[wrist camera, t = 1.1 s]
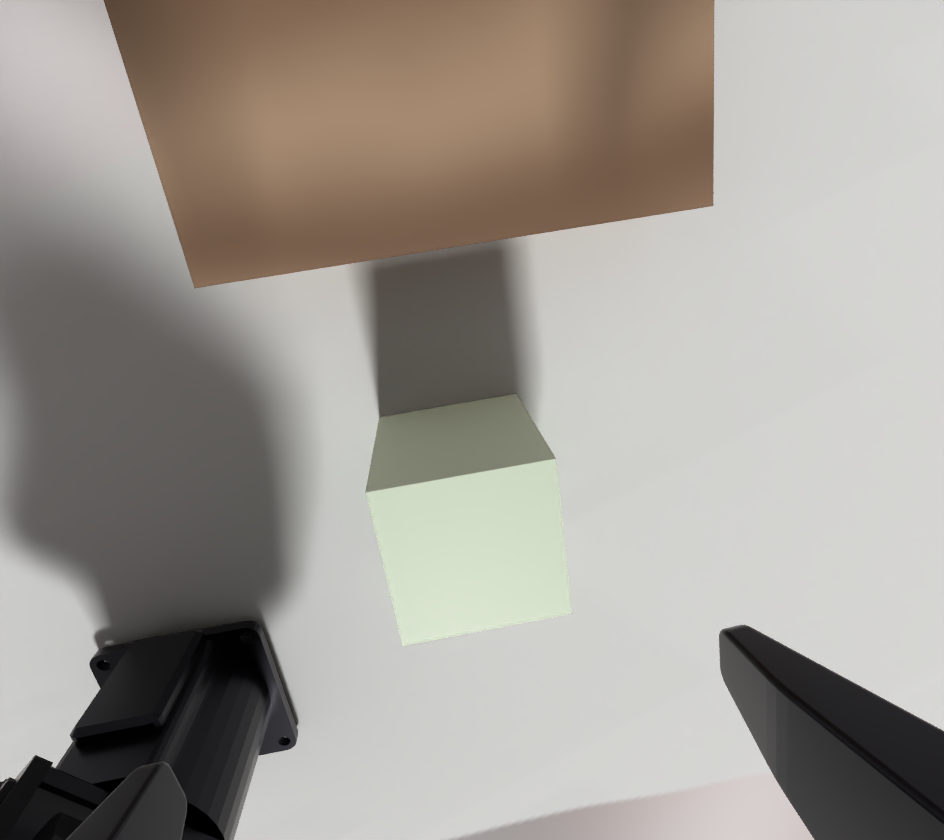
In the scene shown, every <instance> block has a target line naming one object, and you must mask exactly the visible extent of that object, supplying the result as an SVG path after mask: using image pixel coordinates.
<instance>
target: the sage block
mask: <svg viewBox="0 0 944 840" xmlns="http://www.w3.org/2000/svg"><path fill="white" fill-rule="evenodd" d="M365 493H366V497H367V501H368V505H369V509H370V514H371V518H372V522H373V526H374V530H375V534H376V538H377V543H378V547H379V551H380V555H381V559H382V563H383V567H384V572H385V576H386V580H387V584H388V588H389V592H390V597H391V601H392V605H393V609H394V613H395V617H396V621H397V626H398V630H399V634H400V638H401V642H402V646H406V645H411V644H416V643H422V642H427V641H432V640H437V639H442V638H448V637H453V636H458V635H463V634H469V633H474V632H479V631H484V630H490V629H495V628H500V627H505V626H510V625H516V624H521V623H526V622H531V621H537V620H542V619H547V618H552V617H557V616H563V615H568V614H572V607H571V598H570V588H569V578H568V569H567V559H566V550H565V540H564V530H563V521H562V511H561V501H560V492H559V482H558V473H557V463H556V458H555V456H554V454H553V453H552V451H551V450H550V448H549V446H548V445H547V443H546V441H545V440H544V438H543V437H542V435H541V433H540V432H539V430H538V428H537V427H536V425H535V424H534V422H533V420H532V419H531V417H530V415H529V414H528V412H527V411H526V409H525V407H524V406H523V404H522V402H521V401H520V399H519V398H518V396H517V394H511V395H506V396H500V397H494V398H488V399H482V400H477V401H471V402H465V403H459V404H454V405H448V406H442V407H436V408H430V409H425V410H419V411H413V412H407V413H401V414H396V415H390V416H384V417H379V422H378V428H377V433H376V438H375V444H374V449H373V455H372V460H371V465H370V471H369V476H368V482H367V487H366V492H365Z"/></svg>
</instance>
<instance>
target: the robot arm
mask: <svg viewBox="0 0 944 840" xmlns="http://www.w3.org/2000/svg"><path fill="white" fill-rule="evenodd" d="M244 633H250V634H252V635H253V636H246V635H245V634H244ZM719 648H720V668H721V674H722V677H723V680H724V682H725V684H726V686H727V688H728V690H729V692H730V694H731V696H732V698H733V700H734V701H735V703H736V705H737V707H738V709H739V711H740V713H741V715H742V717H743V719H744V720H745V722H746V724H747V726H748V728H749V730H750V732H751V734H752V736H753V738H754V739H755V741H756V743H757V745H758V747H759V749H760V751H761V753H762V755H763V757H764V758H765V760H766V762H767V764H768V766H769V768H770V770H771V771H772V773H773V775H774V777H775V778H776V780H777V782H778V784H779V785H780V787H781V788H782V790H783V792H784V793H785V795H786V796H787V798H788V800H789V801H790V803H791V804H792V806H793V807H794V809H795V810H796V812H797V813H798V815H799V816H800V818H801V819H802V821H803V823H804V824H805V826H806V827H807V829H808V830H809V832H810V833H811V835H812V836H813V838H814V839H815V840H944V731H943V730H941V729H939V728H937V727H935V726H933V725H932V724H930V723H928V722H926V721H924V720H922V719H920V718H919V717H917V716H915V715H913V714H911V713H909V712H907V711H905V710H904V709H902V708H900V707H898V706H896V705H894V704H892V703H891V702H889V701H887V700H885V699H883V698H881V697H879V696H878V695H876V694H874V693H872V692H870V691H868V690H866V689H865V688H863V687H861V686H859V685H857V684H855V683H853V682H852V681H850V680H848V679H846V678H844V677H842V676H840V675H839V674H837V673H835V672H833V671H831V670H829V669H827V668H826V667H824V666H822V665H820V664H818V663H816V662H814V661H813V660H811V659H809V658H807V657H805V656H803V655H801V654H800V653H798V652H796V651H794V650H792V649H790V648H788V647H787V646H785V645H783V644H781V643H779V642H777V641H775V640H774V639H772V638H770V637H768V636H766V635H764V634H762V633H761V632H759V631H757V630H755V629H753V628H751V627H749V626H746V625H739V626H734V627H730V628H726V629H723V630H721V632H720V634H719ZM104 660H105V661H108V662H109V663H107V662H105V661H104ZM90 668H91V670H92V672H93V674H94V676H95V678H96V680H97V682H98V684H99V686H100V688H101V689H100V690H99V692H98V693H97V695H96V696H95V698H94V699H93V701H92V702H91V704H90V705H89V707H88V708H87V710H86V711H85V713H84V714H83V715H82V717H81V718H80V720H79V721H78V723H77V724H76V726H75V727H74V729H73V730H72V732H71V734H70V737H71V739H72V740H73V742H72V744H71V745H70V747H69V748H68V750H67V751H66V753H65V754H64V756H63V757H62V759H61V760H60V762H59V763H58V765H57V766H56V768H54V767H52V766H51V765H52V764H53V762H50V761H48V760H46V759H43V758H41V757H39V756H37V755H35V756H34V757H33V758H32V760H31V761H30V762H29V763H28V764H27V766H26V767H25V768H24V769H23V770H22V771H21V773H20V774H19V775H18V776H17V777H16V779H12V778H10V777H9V778H8V779H5V780H4V781H3V782H0V840H234V836H235V833H236V829H237V826H238V823H239V819H240V816H241V813H242V809H243V806H244V802H245V799H246V796H247V792H248V789H249V785H250V782H251V779H252V775H253V772H254V768H255V765H256V762H257V758H258V755H264V754H269V753H274V752H279V751H284V750H288V749H291V748H292V747H294V746H295V744H296V741H297V737H298V730H297V727H296V724H295V721H294V718H293V715H292V712H291V709H290V707H289V704H288V701H287V698H286V695H285V692H284V689H283V686H282V684H281V681H280V678H279V675H278V672H277V669H276V666H275V663H274V660H273V658H272V655H271V652H270V649H269V646H268V643H267V640H266V637H265V635H264V632H263V629H262V627H261V626H260V625H259V624H258V623H256V622H253V621H244V622H239V623H233V624H228V625H223V626H217V627H212V628H207V629H201V630H191V631H186V632H181V633H175V634H170V635H165V636H159V637H154V638H149V639H144V640H138V641H134V642H132V643H127V644H121V645H116V646H111V647H105V648H102V649H100V650H98V651H97V652H96V654H95V655H94V656H93V658H92V659H91V661H90Z"/></svg>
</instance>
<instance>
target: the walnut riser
mask: <svg viewBox="0 0 944 840" xmlns="http://www.w3.org/2000/svg"><path fill="white" fill-rule="evenodd" d="M104 2H105V6H106V9H107V12H108V15H109V18H110V21H111V25H112V28H113V31H114V34H115V37H116V40H117V44H118V47H119V50H120V53H121V56H122V59H123V63H124V66H125V69H126V72H127V75H128V78H129V82H130V85H131V88H132V91H133V94H134V97H135V101H136V104H137V107H138V110H139V113H140V116H141V120H142V123H143V126H144V129H145V132H146V135H147V139H148V142H149V145H150V148H151V151H152V154H153V158H154V161H155V164H156V167H157V170H158V173H159V177H160V180H161V183H162V186H163V189H164V192H165V196H166V199H167V202H168V205H169V208H170V211H171V215H172V218H173V221H174V224H175V227H176V230H177V234H178V237H179V240H180V243H181V246H182V249H183V253H184V256H185V259H186V262H187V265H188V268H189V272H190V275H191V278H192V281H193V284H194V287H195V288H199V287H205V286H211V285H218V284H224V283H230V282H237V281H243V280H249V279H255V278H262V277H268V276H274V275H281V274H287V273H293V272H300V271H306V270H312V269H318V268H325V267H331V266H337V265H344V264H350V263H356V262H363V261H369V260H375V259H381V258H388V257H394V256H400V255H407V254H413V253H419V252H425V251H432V250H438V249H444V248H451V247H457V246H463V245H470V244H476V243H482V242H488V241H495V240H501V239H507V238H514V237H520V236H526V235H533V234H539V233H545V232H551V231H558V230H564V229H570V228H577V227H583V226H589V225H596V224H602V223H608V222H614V221H621V220H627V219H633V218H640V217H646V216H652V215H658V214H665V213H671V212H677V211H684V210H690V209H696V208H703V207H709V206H713V133H714V0H104Z"/></svg>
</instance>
